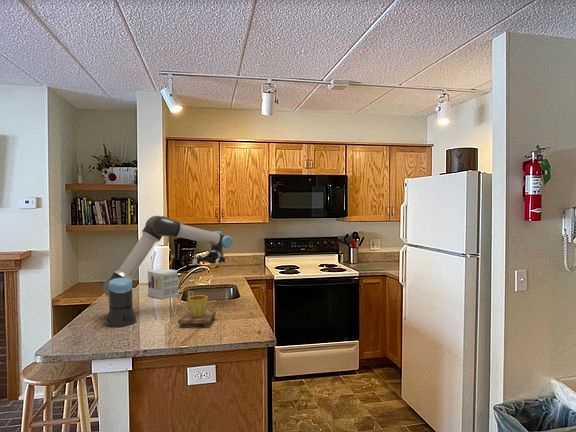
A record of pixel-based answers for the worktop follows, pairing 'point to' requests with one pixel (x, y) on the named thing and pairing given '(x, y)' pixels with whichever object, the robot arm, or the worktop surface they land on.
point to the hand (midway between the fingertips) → (204, 262)
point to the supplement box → (163, 283)
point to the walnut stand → (197, 319)
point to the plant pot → (197, 305)
